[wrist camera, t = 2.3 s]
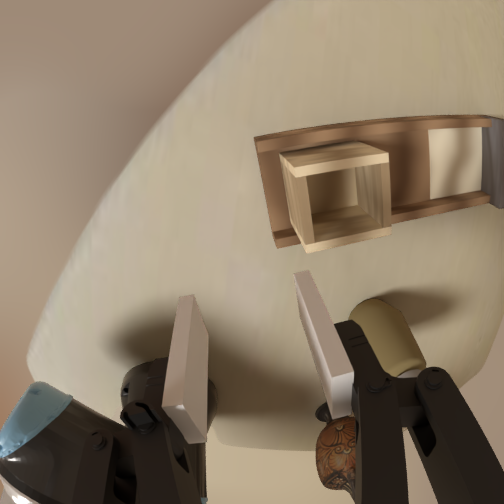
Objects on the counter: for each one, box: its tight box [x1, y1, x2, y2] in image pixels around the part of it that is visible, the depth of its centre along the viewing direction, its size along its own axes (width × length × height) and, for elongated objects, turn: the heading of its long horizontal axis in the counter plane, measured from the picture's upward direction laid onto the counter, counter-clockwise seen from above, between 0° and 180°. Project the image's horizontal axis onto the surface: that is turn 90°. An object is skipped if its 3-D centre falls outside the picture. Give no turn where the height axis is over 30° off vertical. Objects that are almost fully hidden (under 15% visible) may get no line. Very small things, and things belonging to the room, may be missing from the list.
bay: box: [254, 115, 504, 249], centre depth 30 cm, size 30×11×5 cm, turn 101°
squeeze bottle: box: [348, 299, 426, 378], centre depth 33 cm, size 8×8×18 cm
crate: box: [279, 141, 391, 253], centre depth 28 cm, size 8×7×7 cm
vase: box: [315, 403, 356, 502], centre depth 38 cm, size 12×12×30 cm
